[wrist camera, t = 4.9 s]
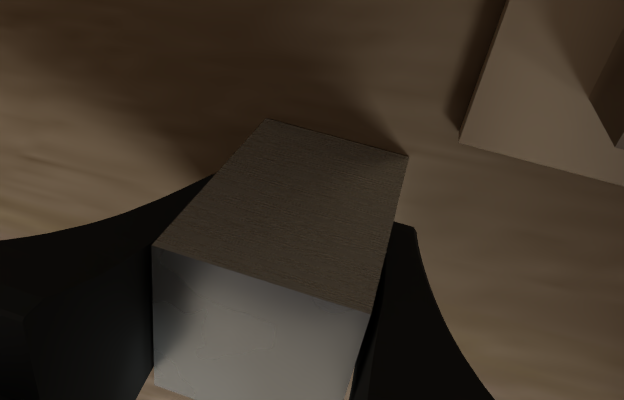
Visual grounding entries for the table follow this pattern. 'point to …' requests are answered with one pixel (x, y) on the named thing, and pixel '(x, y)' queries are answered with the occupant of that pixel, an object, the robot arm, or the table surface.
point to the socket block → (554, 87)
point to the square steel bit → (274, 269)
